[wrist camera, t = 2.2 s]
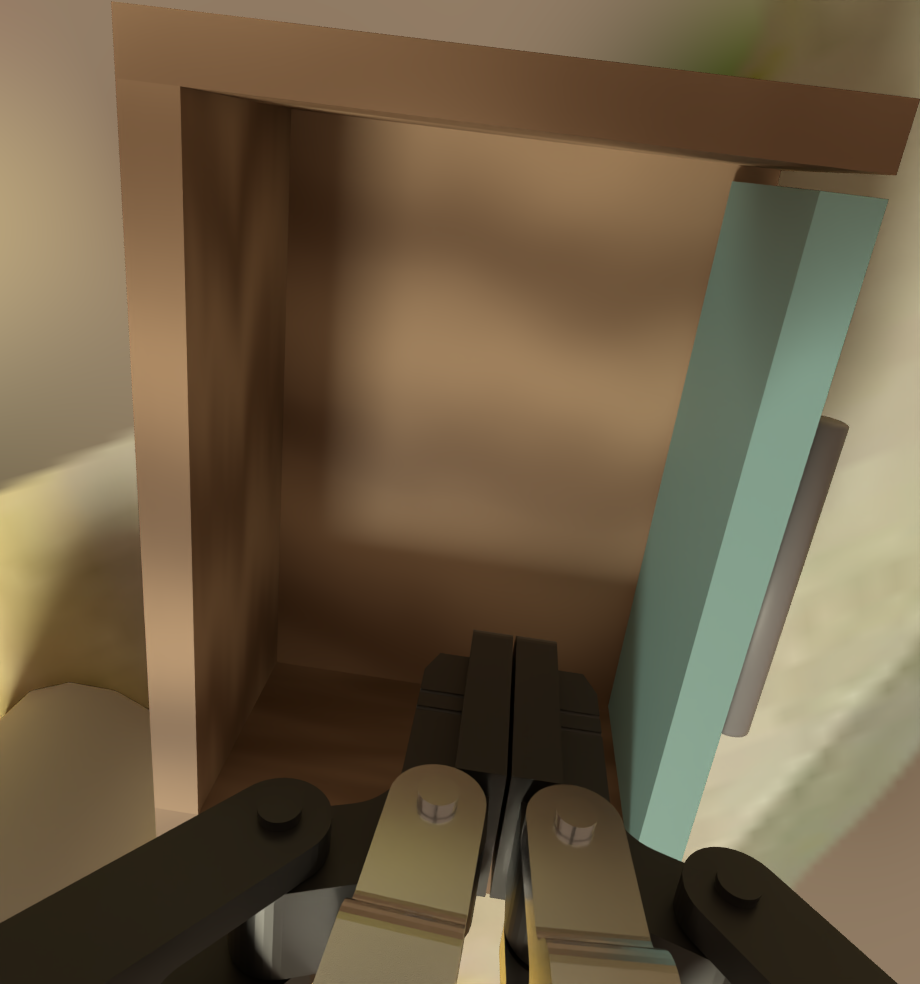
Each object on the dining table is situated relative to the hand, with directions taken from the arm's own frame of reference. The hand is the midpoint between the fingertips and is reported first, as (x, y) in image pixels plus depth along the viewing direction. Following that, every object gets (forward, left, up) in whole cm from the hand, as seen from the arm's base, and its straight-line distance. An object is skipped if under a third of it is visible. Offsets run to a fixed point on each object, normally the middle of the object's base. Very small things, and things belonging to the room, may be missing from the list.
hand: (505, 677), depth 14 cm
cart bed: (0, -2, -13) cm, 13 cm away
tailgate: (0, +5, -11) cm, 12 cm away
